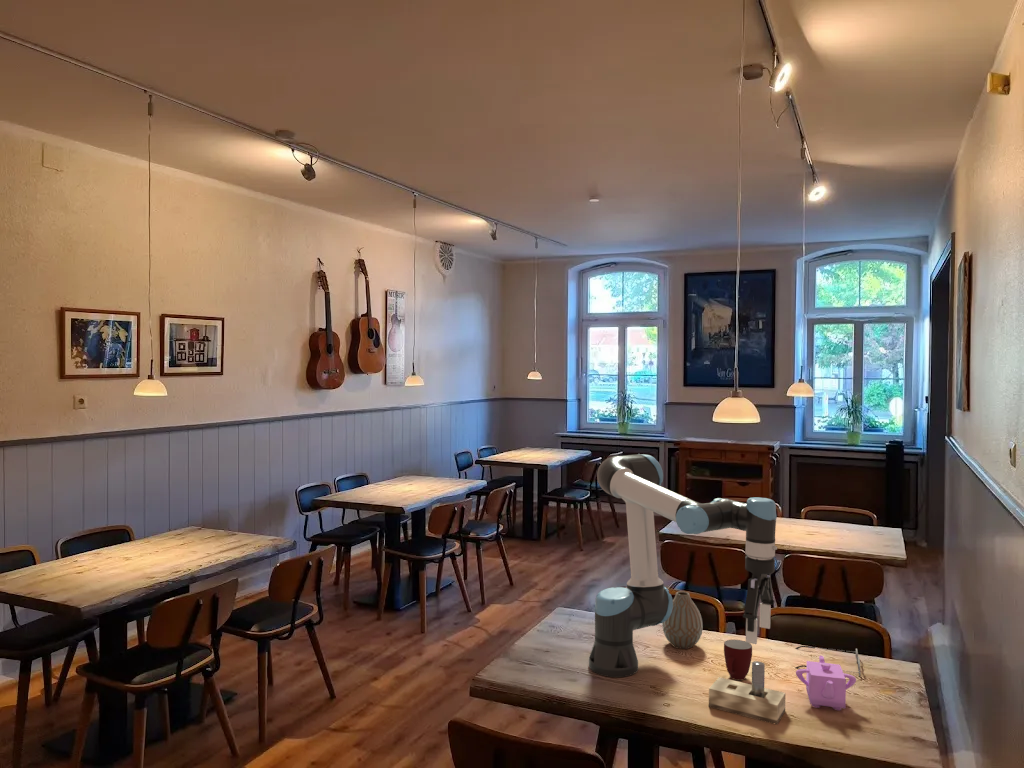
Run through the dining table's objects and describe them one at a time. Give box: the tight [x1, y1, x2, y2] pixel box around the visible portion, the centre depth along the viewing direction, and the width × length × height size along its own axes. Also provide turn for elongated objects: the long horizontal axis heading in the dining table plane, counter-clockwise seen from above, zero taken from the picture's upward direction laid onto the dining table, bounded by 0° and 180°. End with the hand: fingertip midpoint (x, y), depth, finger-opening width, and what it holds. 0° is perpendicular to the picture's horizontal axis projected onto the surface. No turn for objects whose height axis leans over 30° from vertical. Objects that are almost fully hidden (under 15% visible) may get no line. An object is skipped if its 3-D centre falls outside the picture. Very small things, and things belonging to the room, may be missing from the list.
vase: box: [661, 590, 704, 650], centre depth 243 cm, size 13×13×18 cm
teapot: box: [795, 655, 857, 711], centre depth 201 cm, size 15×13×11 cm
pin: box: [751, 660, 766, 698], centre depth 195 cm, size 3×3×12 cm
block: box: [708, 676, 786, 725], centre depth 197 cm, size 18×9×5 cm, turn 57°
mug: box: [723, 639, 753, 681], centre depth 216 cm, size 11×8×10 cm
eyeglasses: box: [794, 645, 862, 677], centre depth 230 cm, size 18×19×4 cm
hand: (758, 635), depth 195 cm, fingers open, 13 cm apart
